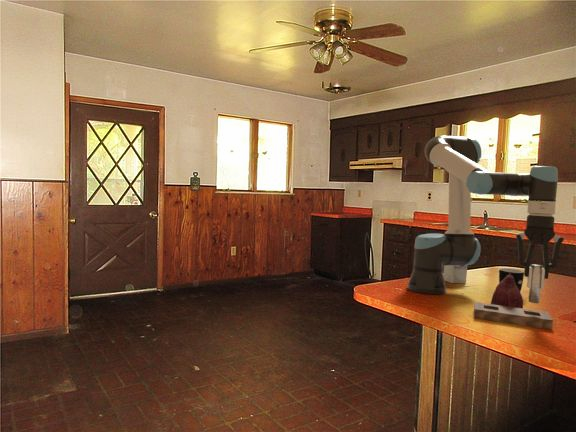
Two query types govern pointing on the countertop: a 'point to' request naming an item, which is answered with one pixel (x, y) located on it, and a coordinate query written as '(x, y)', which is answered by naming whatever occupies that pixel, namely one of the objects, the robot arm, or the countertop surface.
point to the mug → (515, 273)
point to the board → (513, 315)
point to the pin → (535, 284)
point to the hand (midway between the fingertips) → (535, 287)
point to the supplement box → (455, 273)
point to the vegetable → (507, 293)
